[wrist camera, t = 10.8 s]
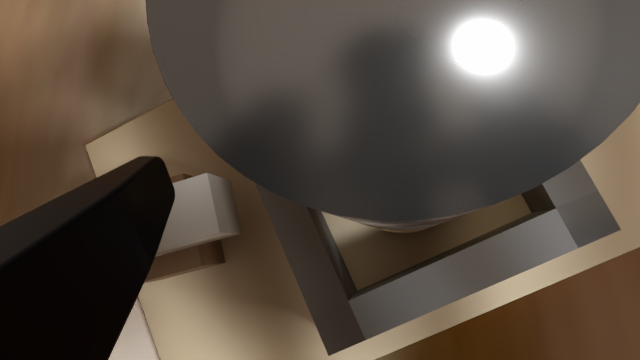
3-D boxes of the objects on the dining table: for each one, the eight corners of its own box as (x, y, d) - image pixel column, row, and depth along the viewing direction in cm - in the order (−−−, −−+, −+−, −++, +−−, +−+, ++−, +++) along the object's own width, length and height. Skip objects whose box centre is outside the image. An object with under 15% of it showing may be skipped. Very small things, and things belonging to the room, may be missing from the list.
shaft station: (198, 429, 17) (123, 499, 12) (98, 149, 19) (4, 122, 15) (792, 175, 14) (967, 148, 10) (595, -114, 17) (665, -243, 12)
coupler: (408, 259, 15) (426, 346, 3) (314, 178, 16) (56, 7, 4) (493, 162, 15) (841, -126, 3) (393, 86, 16) (363, -364, 4)
